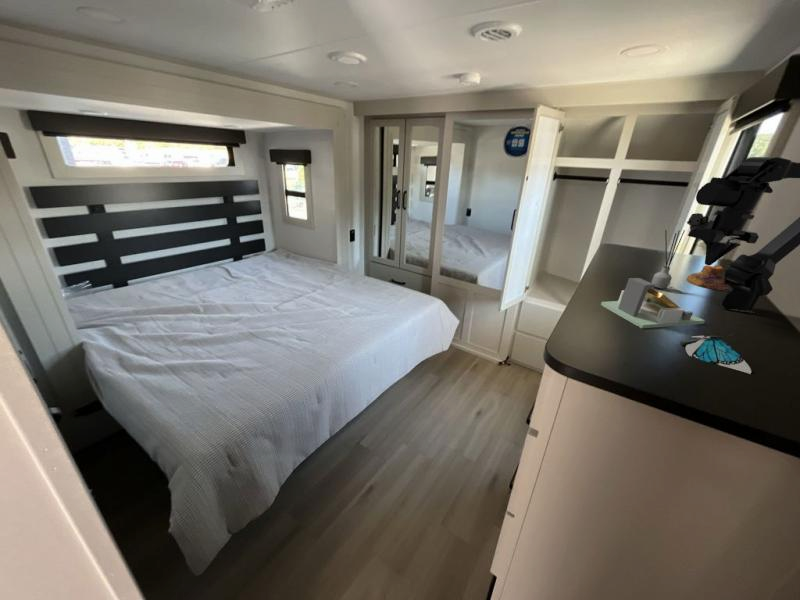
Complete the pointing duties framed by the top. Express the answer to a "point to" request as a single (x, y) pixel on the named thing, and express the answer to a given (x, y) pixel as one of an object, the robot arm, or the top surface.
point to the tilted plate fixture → (647, 308)
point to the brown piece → (709, 278)
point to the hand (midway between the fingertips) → (707, 264)
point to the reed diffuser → (665, 268)
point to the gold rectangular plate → (660, 299)
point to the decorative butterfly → (715, 352)
